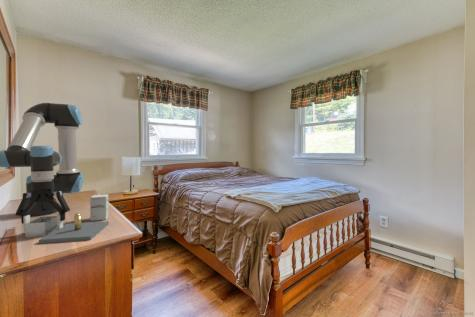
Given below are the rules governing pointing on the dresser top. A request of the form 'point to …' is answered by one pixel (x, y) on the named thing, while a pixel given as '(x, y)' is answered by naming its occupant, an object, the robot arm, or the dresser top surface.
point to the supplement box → (98, 207)
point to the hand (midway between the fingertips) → (44, 229)
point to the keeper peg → (77, 221)
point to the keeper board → (74, 232)
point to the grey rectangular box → (41, 226)
